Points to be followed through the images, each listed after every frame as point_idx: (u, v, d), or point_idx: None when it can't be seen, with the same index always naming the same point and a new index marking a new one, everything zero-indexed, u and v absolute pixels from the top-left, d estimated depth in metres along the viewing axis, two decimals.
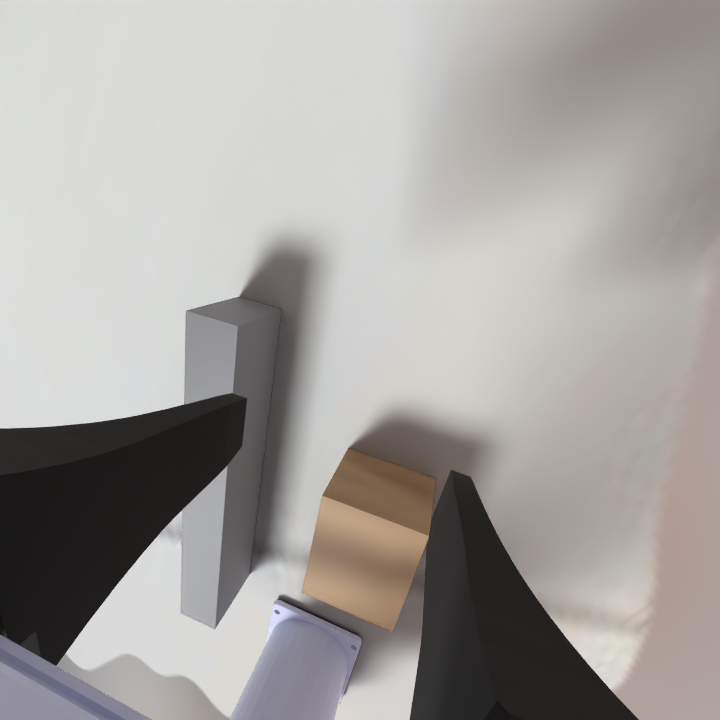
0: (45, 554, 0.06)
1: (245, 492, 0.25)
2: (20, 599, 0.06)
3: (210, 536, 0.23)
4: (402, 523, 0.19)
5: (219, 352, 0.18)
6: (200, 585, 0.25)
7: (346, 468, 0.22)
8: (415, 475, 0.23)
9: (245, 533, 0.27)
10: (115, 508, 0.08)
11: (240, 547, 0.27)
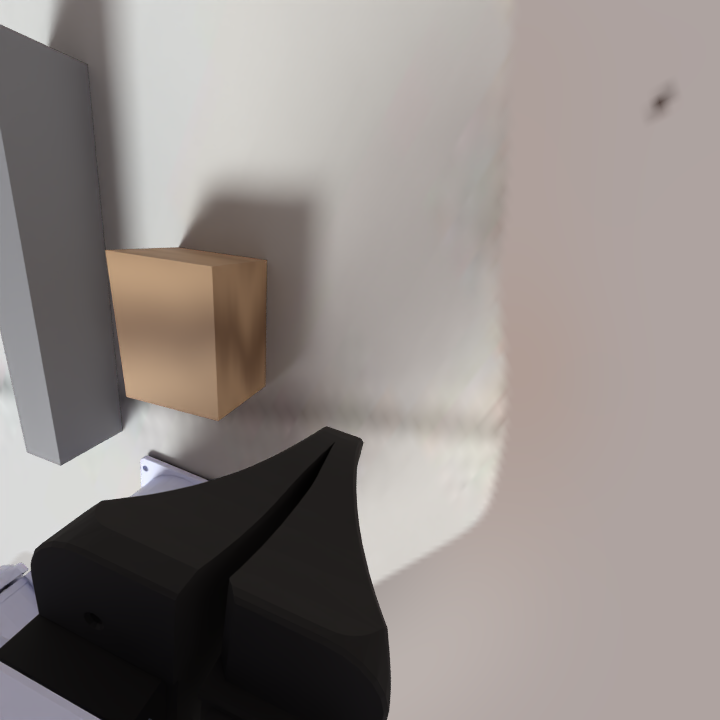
0: (211, 636, 0.06)
1: (75, 298, 0.22)
2: (190, 689, 0.06)
3: (27, 335, 0.21)
4: (186, 262, 0.16)
5: None
6: (34, 409, 0.23)
7: (159, 249, 0.20)
8: (242, 257, 0.20)
9: (95, 362, 0.25)
10: None
11: (88, 377, 0.24)
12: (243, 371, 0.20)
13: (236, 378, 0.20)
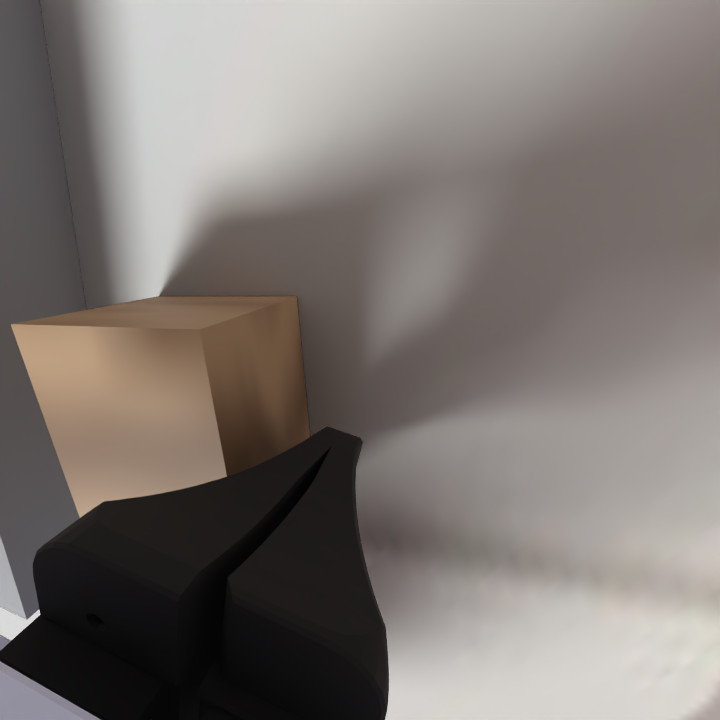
0: (213, 637, 0.06)
1: None
2: (191, 690, 0.06)
3: None
4: (151, 326, 0.08)
5: None
6: None
7: (119, 305, 0.12)
8: (255, 298, 0.12)
9: None
10: None
11: None
12: None
13: None
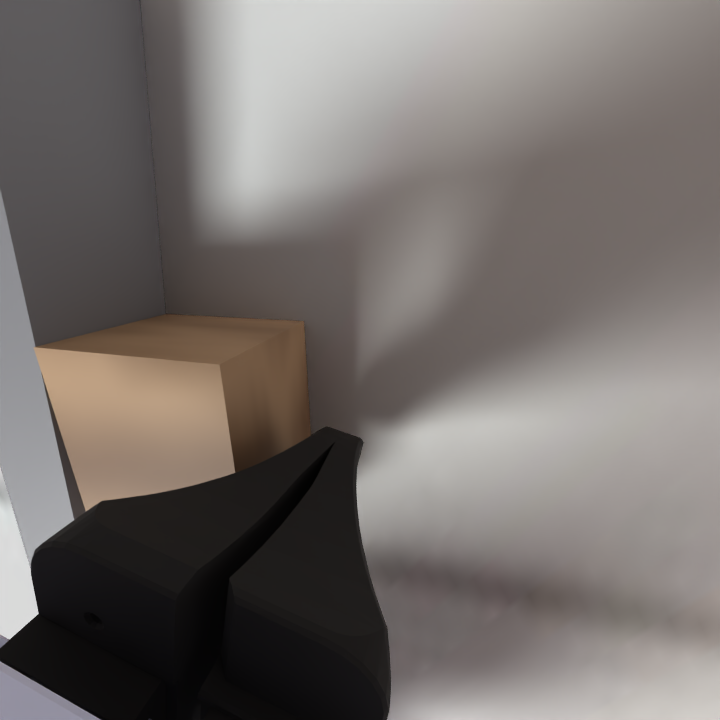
0: (211, 636, 0.06)
1: None
2: (190, 689, 0.06)
3: (47, 480, 0.12)
4: (172, 357, 0.09)
5: None
6: None
7: (134, 325, 0.12)
8: (266, 321, 0.13)
9: None
10: None
11: None
12: None
13: None
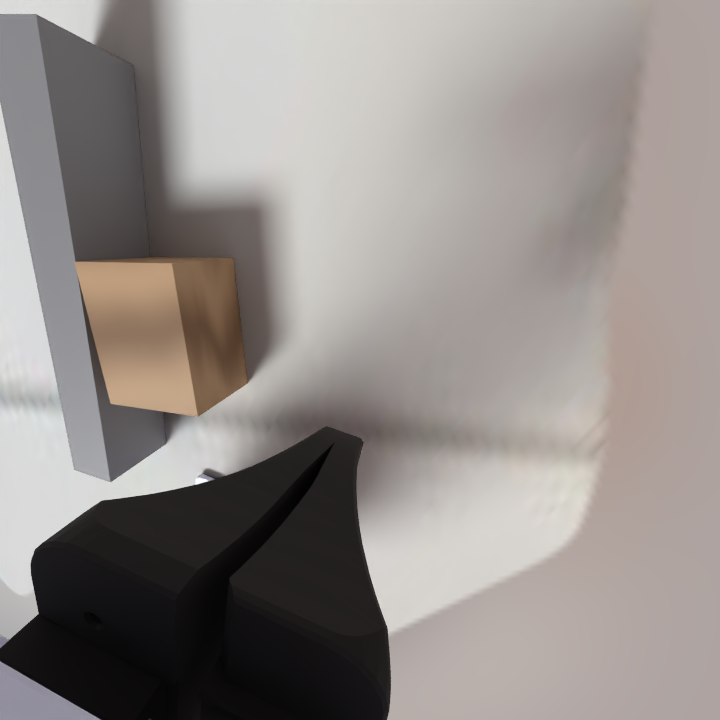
0: (211, 636, 0.06)
1: None
2: (190, 689, 0.06)
3: (78, 347, 0.20)
4: (148, 262, 0.17)
5: (27, 64, 0.15)
6: (83, 424, 0.22)
7: (129, 258, 0.20)
8: (210, 258, 0.21)
9: None
10: None
11: None
12: (220, 367, 0.21)
13: (213, 374, 0.20)
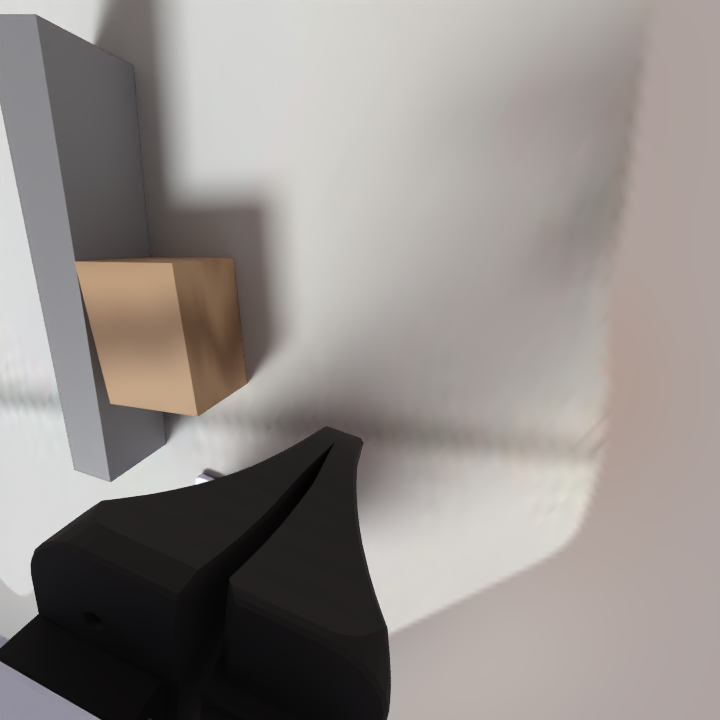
0: (211, 636, 0.06)
1: None
2: (190, 689, 0.06)
3: (77, 347, 0.20)
4: (148, 262, 0.17)
5: (26, 64, 0.15)
6: (83, 424, 0.22)
7: (129, 258, 0.20)
8: (210, 258, 0.21)
9: None
10: None
11: None
12: (220, 367, 0.21)
13: (213, 374, 0.20)
